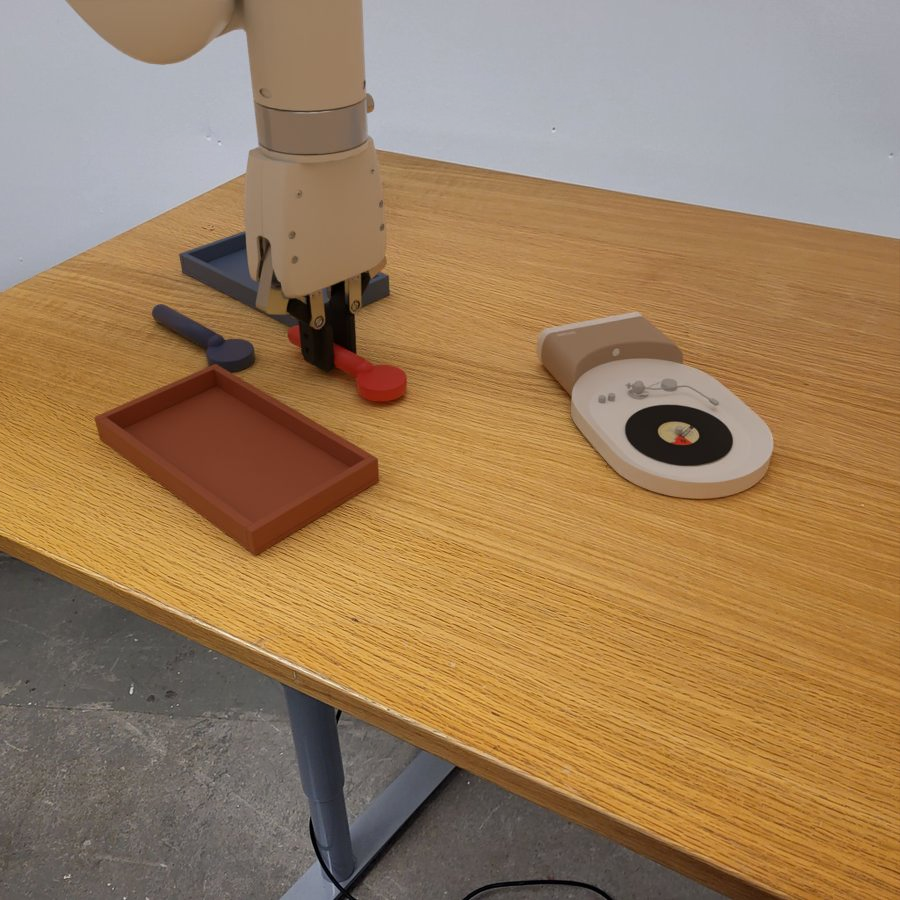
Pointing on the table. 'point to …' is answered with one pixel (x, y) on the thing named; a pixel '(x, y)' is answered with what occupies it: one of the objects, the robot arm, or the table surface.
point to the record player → (655, 409)
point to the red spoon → (365, 372)
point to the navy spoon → (208, 340)
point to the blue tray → (230, 274)
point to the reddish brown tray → (238, 455)
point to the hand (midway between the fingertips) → (329, 359)
